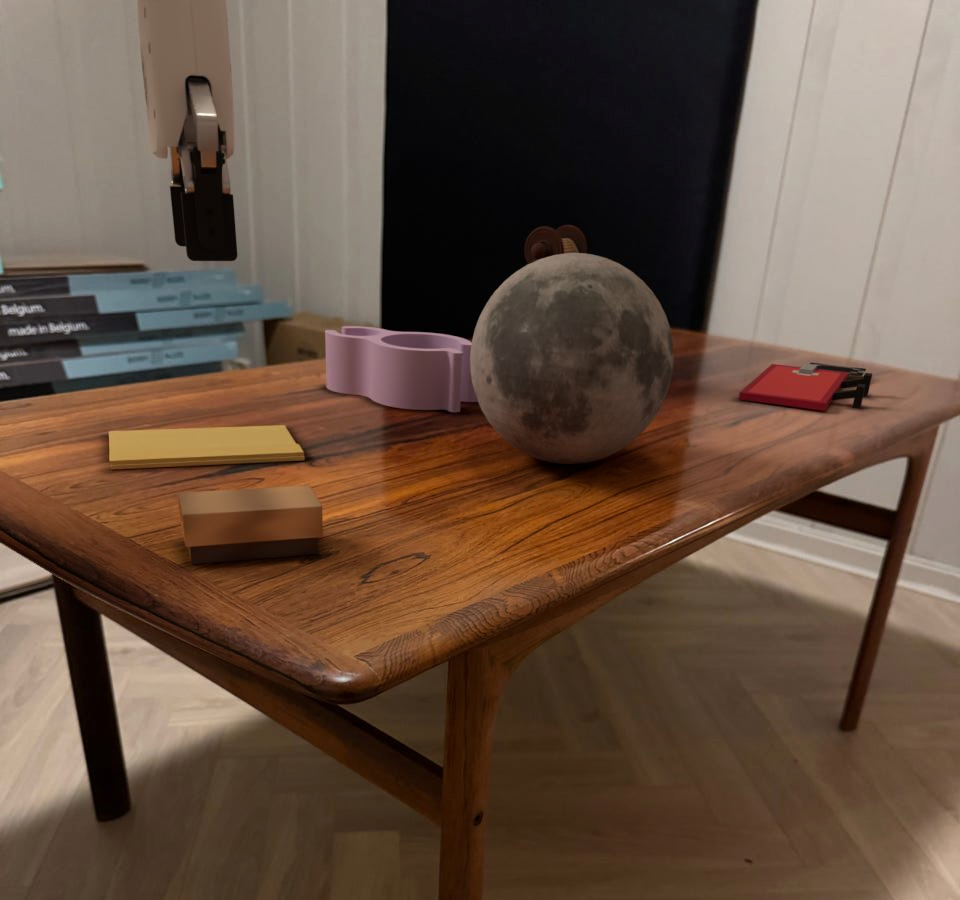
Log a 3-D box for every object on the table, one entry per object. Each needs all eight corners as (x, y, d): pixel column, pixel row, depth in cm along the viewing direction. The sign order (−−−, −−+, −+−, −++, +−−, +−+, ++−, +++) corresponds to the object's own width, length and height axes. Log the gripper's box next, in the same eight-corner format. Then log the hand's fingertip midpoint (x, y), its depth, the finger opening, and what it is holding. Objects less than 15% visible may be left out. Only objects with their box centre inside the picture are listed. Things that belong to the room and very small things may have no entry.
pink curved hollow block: (307, 391, 120) (305, 334, 117) (360, 375, 130) (360, 322, 127) (447, 416, 112) (450, 356, 109) (493, 397, 122) (496, 341, 119)
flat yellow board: (110, 469, 88) (109, 461, 88) (109, 435, 98) (108, 427, 98) (304, 460, 94) (304, 452, 94) (284, 428, 104) (284, 421, 104)
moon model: (447, 434, 105) (455, 239, 96) (617, 432, 110) (639, 246, 101) (491, 493, 88) (506, 262, 79) (690, 488, 93) (725, 269, 84)
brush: (187, 566, 70) (182, 514, 68) (182, 541, 74) (177, 492, 72) (323, 555, 73) (322, 505, 71) (311, 532, 77) (309, 484, 75)
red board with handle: (878, 376, 147) (779, 365, 153) (882, 357, 146) (782, 347, 152) (853, 418, 123) (738, 402, 129) (858, 396, 122) (741, 381, 128)
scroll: (568, 400, 123) (584, 232, 114) (471, 381, 130) (479, 222, 121) (615, 382, 135) (633, 228, 126) (524, 366, 141) (535, 219, 132)
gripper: (111, -30, 65) (142, 241, 73) (118, -76, 51) (156, 267, 59) (224, -19, 67) (242, 242, 75) (261, -60, 53) (279, 267, 61)
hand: (205, 252), depth 67 cm, fingers open, 9 cm apart
